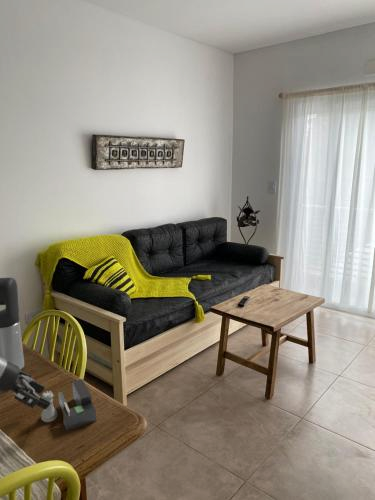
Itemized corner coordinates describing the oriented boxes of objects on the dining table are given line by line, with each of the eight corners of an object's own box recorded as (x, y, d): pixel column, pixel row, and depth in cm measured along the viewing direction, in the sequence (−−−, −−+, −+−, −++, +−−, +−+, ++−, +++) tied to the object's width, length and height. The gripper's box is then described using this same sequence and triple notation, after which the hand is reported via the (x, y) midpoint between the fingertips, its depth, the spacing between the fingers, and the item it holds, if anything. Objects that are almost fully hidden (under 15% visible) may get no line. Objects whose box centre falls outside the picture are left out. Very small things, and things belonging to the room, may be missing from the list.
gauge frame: (56, 404, 118) (54, 386, 117) (83, 396, 122) (81, 379, 121) (66, 430, 107) (64, 411, 105) (96, 420, 111) (94, 402, 109)
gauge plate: (59, 402, 117) (58, 391, 116) (62, 401, 117) (61, 390, 116) (67, 423, 108) (66, 411, 107) (71, 422, 108) (70, 410, 107)
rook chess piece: (60, 416, 113) (58, 391, 111) (48, 425, 109) (46, 399, 107) (50, 411, 115) (48, 387, 113) (37, 419, 111) (35, 395, 109)
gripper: (8, 373, 97) (59, 399, 105) (3, 349, 109) (49, 375, 117) (-13, 398, 96) (40, 423, 104) (-16, 371, 108) (32, 395, 116)
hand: (45, 397), depth 111 cm, fingers open, 8 cm apart
